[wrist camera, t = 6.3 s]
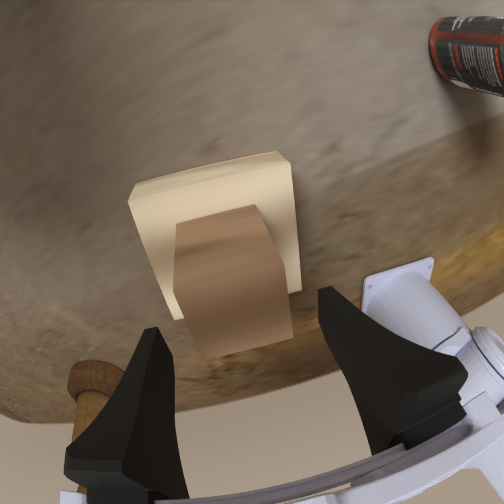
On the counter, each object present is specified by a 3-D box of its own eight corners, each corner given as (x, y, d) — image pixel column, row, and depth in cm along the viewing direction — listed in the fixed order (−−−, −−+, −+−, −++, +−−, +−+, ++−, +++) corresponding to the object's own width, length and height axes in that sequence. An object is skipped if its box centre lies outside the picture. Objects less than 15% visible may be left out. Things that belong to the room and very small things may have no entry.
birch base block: (289, 265, 24) (301, 290, 21) (174, 292, 23) (174, 319, 21) (276, 150, 19) (290, 163, 16) (136, 183, 18) (127, 201, 16)
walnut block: (266, 268, 20) (293, 337, 15) (197, 285, 19) (203, 359, 14) (254, 203, 17) (284, 264, 12) (176, 223, 17) (172, 291, 12)
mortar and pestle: (106, 353, 25) (93, 543, 10) (141, 388, 29) (147, 551, 14) (59, 366, 25) (35, 530, 10) (95, 398, 29) (88, 544, 14)
